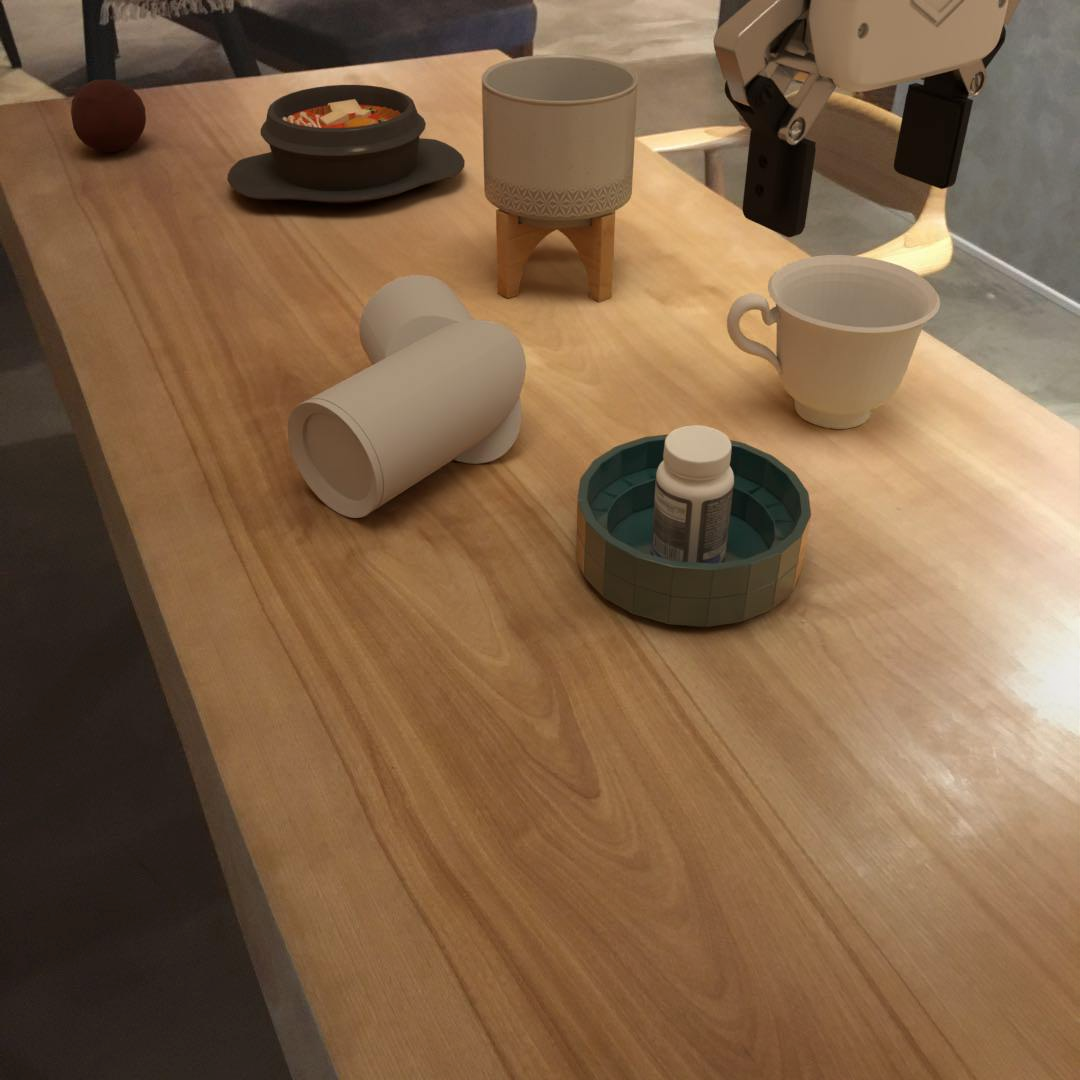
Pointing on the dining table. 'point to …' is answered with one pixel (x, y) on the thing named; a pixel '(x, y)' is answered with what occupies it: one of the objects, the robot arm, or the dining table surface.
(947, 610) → the dining table surface
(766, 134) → the robot arm
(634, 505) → the bowl
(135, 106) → the dark brown ball
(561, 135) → the planter
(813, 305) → the teacup
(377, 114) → the casserole
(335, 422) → the beige tubular fitting
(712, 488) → the pill bottle
